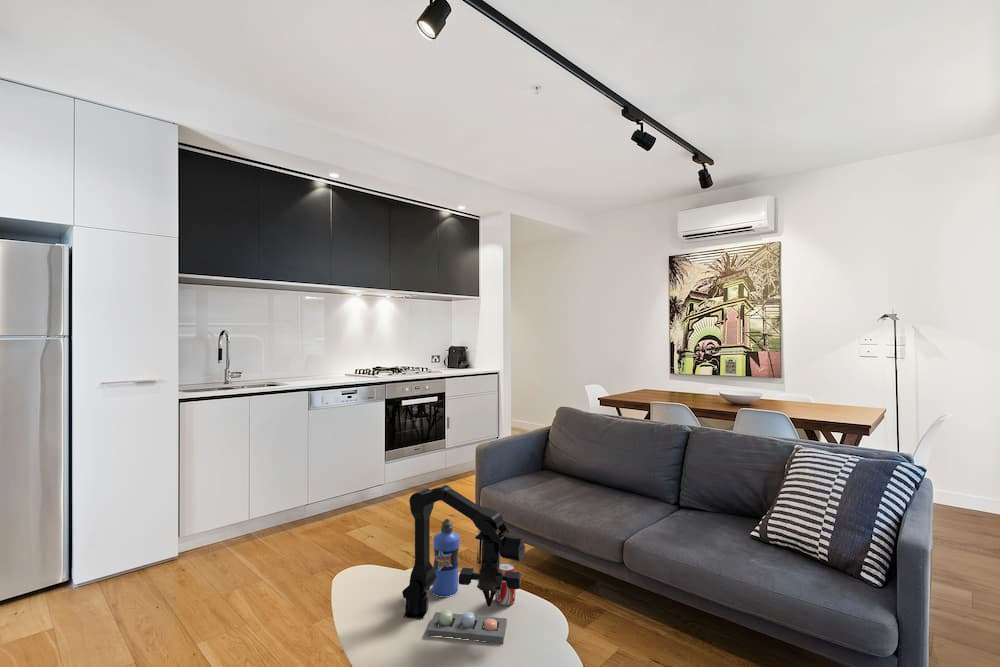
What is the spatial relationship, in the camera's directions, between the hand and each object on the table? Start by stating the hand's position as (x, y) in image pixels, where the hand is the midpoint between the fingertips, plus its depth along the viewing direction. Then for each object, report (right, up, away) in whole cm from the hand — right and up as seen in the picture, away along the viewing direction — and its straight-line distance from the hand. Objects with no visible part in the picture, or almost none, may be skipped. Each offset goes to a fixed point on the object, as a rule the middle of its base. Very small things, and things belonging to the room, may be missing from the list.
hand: (489, 606), depth 149 cm
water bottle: (-16, -9, +25) cm, 31 cm away
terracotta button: (0, -8, 0) cm, 8 cm away
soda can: (+5, -9, +18) cm, 21 cm away
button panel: (-7, -8, 0) cm, 10 cm away
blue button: (-7, -6, +1) cm, 9 cm away
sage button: (-14, -6, +1) cm, 15 cm away
